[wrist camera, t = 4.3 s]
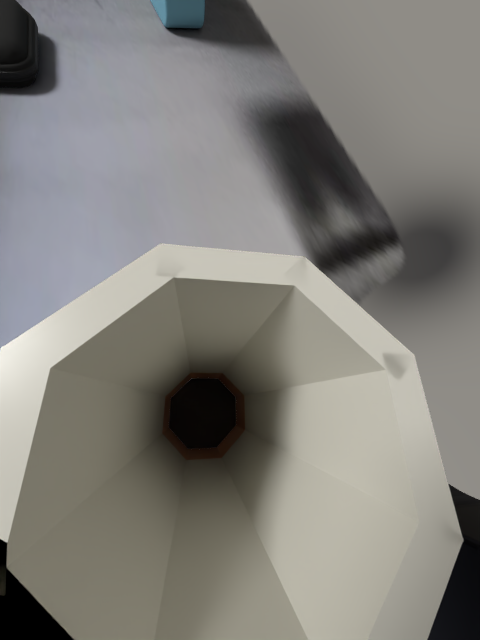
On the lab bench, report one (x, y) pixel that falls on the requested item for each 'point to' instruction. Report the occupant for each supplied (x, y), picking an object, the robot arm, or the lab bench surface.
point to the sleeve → (219, 463)
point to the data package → (180, 13)
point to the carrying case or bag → (17, 45)
